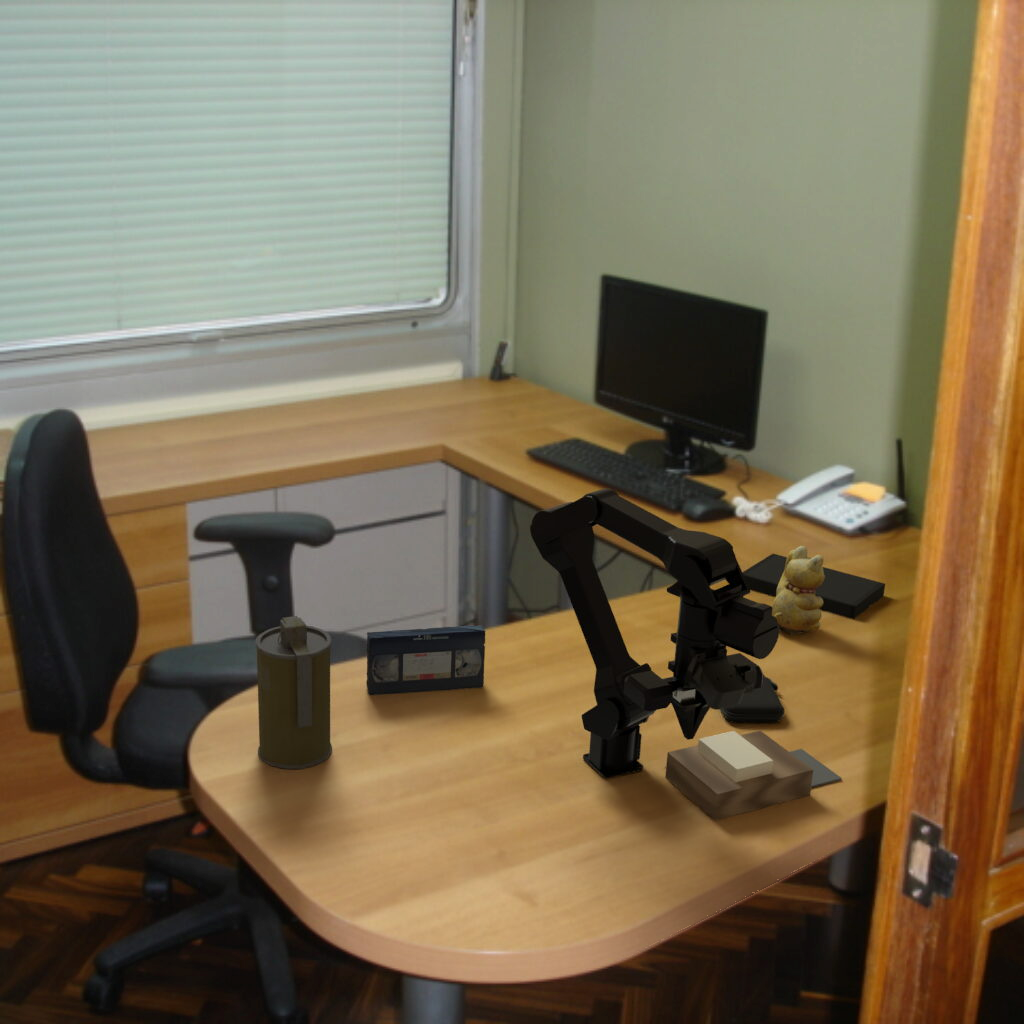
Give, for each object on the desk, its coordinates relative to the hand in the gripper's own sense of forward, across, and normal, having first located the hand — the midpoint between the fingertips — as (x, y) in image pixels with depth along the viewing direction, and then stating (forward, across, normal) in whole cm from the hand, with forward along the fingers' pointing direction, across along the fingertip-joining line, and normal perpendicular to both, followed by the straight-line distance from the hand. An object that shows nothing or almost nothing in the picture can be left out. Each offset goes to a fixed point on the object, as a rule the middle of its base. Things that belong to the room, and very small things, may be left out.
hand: (688, 738), depth 184 cm
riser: (+9, +9, 0) cm, 13 cm away
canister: (+10, -44, +33) cm, 56 cm away
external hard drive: (+10, +64, +53) cm, 84 cm away
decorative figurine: (+10, +50, +40) cm, 65 cm away
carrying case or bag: (+10, +26, +20) cm, 34 cm away
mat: (+9, +21, 0) cm, 23 cm away
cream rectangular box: (+5, +8, 0) cm, 10 cm away
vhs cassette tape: (+10, -19, +44) cm, 49 cm away
